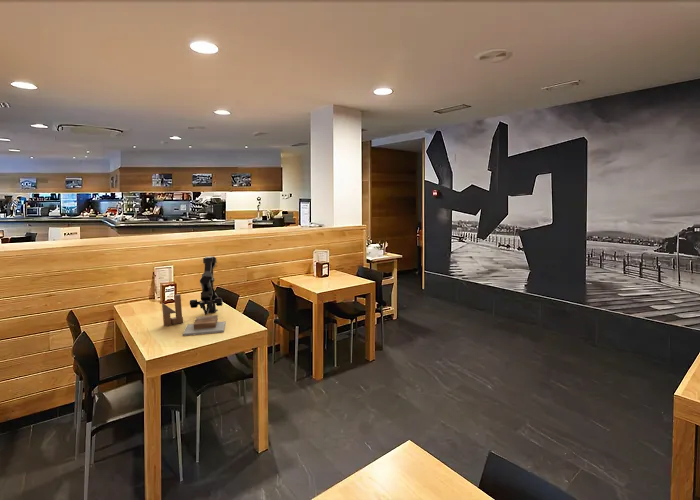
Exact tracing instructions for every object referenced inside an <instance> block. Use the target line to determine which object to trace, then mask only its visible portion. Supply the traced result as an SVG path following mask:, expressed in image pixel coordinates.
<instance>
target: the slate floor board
mask: <svg viewBox="0 0 700 500" xmlns="http://www.w3.org/2000/svg"><path fill="white" fill-rule="evenodd" d="M226 321H227V320H217V324H216V327H214V328H203V329H194V322H193V323H187V325H186V326H185V328H184V331H183V333H182V336H184V337H185V336H196V335H209V334H219V333H224V332H225V328H226Z"/></svg>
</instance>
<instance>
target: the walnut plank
mask: <svg viewBox="0 0 700 500" xmlns="http://www.w3.org/2000/svg"><path fill="white" fill-rule="evenodd" d="M217 321H219V320H218V315H205V316H203V315H202V316H196V319H195V320H194V322H193V323H194V329H203V328H214V327H216V324H217Z"/></svg>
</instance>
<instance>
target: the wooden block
mask: <svg viewBox="0 0 700 500" xmlns="http://www.w3.org/2000/svg"><path fill="white" fill-rule="evenodd" d="M181 295H182V294H180V293H177V294H174V309H175V310H173V309H172V308H171V307H170V306H168V305H166V304H165V303H163V302H161V307H162V319H163V321H162V322H163V326H164V327H168V326H172V325H178V324H183V323H184V317H183V311H182V310H183V309H182V298H181V297H182V296H181ZM172 314H175V317H171V315H172Z"/></svg>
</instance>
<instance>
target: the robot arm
mask: <svg viewBox="0 0 700 500" xmlns="http://www.w3.org/2000/svg"><path fill="white" fill-rule="evenodd" d="M217 261H218V260H217V257H215V256H205V257H203V258H202V263H203V264H204V272H203V273H202V275H201V277H200V279H199V284H200V287H201V291H200V300H199V301H198V300H197V299H190V300H189V305H190V308H191V309H195V308H198V306H199V307H200V309H202V310H203V312H204V315H205V316H208V314H210V313H211V314H212V313H213V314H215V313H216V312H217V311H218V308H217V307H222V306H223V298H222V297H219V296H218V295H217V293H216V290H215V289H214V282H215V277H214V269H215V267H216V265H217ZM216 306H217V307H216Z"/></svg>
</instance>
